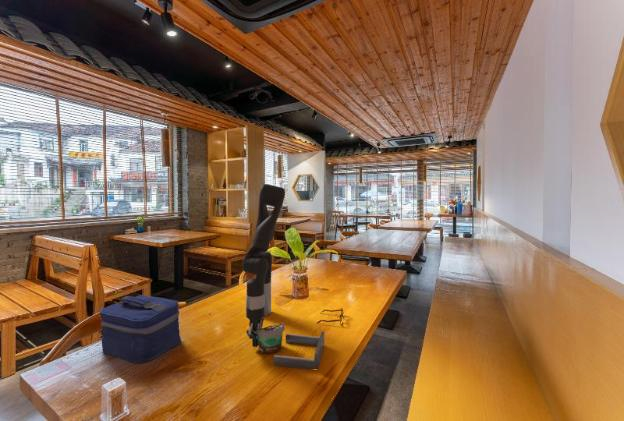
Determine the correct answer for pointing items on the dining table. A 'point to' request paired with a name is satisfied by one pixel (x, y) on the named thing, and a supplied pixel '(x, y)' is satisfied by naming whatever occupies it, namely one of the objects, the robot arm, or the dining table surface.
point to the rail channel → (302, 362)
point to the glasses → (333, 320)
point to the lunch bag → (140, 328)
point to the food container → (270, 339)
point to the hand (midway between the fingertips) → (255, 346)
